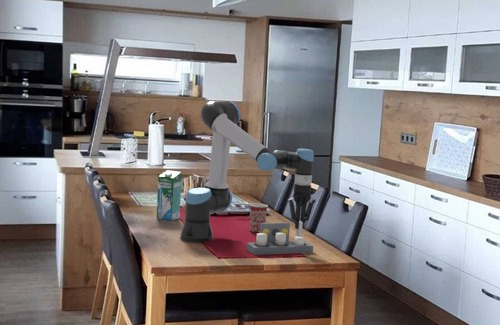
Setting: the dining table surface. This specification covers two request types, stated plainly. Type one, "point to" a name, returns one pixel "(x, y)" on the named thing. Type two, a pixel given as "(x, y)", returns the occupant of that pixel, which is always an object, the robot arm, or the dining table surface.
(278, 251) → the button board
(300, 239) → the button right
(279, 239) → the button middle
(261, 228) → the card
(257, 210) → the mug
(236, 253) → the dining table surface
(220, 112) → the robot arm
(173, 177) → the milk carton
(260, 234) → the button left
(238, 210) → the maze game
